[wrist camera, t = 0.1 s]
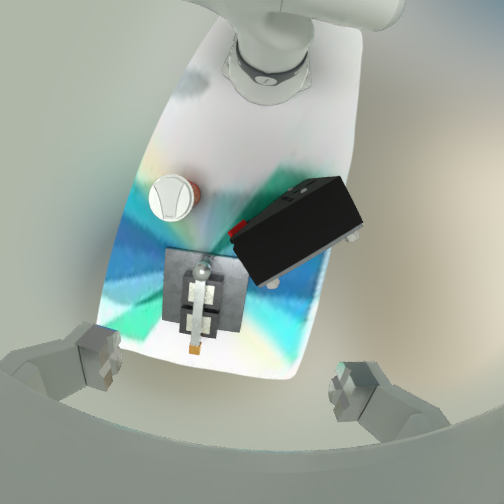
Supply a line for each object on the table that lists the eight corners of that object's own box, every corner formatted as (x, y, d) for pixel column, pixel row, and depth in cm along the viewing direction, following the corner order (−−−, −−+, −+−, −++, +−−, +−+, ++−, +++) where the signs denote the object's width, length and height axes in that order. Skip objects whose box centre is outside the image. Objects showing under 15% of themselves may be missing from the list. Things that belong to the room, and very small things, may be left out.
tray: (167, 246, 57) (158, 254, 51) (251, 259, 58) (251, 268, 52) (163, 317, 61) (156, 330, 54) (239, 329, 62) (239, 344, 55)
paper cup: (206, 213, 55) (193, 222, 42) (170, 213, 55) (147, 223, 42) (205, 175, 54) (192, 171, 40) (169, 176, 53) (145, 174, 40)
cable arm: (195, 260, 51) (193, 263, 48) (212, 262, 51) (210, 266, 49) (188, 347, 55) (186, 352, 53) (203, 349, 55) (201, 355, 53)
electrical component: (258, 260, 58) (264, 298, 39) (232, 219, 56) (225, 237, 36) (329, 218, 56) (369, 235, 37) (306, 175, 54) (337, 171, 35)
